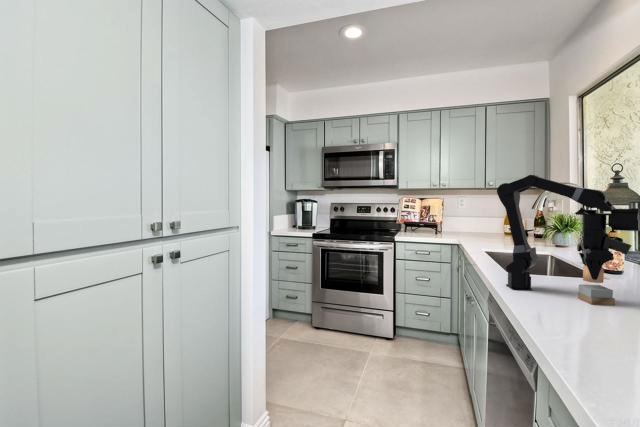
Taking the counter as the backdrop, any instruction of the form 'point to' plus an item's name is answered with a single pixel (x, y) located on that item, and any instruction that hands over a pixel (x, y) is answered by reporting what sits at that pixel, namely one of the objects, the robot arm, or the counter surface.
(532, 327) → the counter surface
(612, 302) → the base slab
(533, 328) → the counter surface
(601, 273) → the tan rounded lump
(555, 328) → the counter surface
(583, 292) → the top slab
